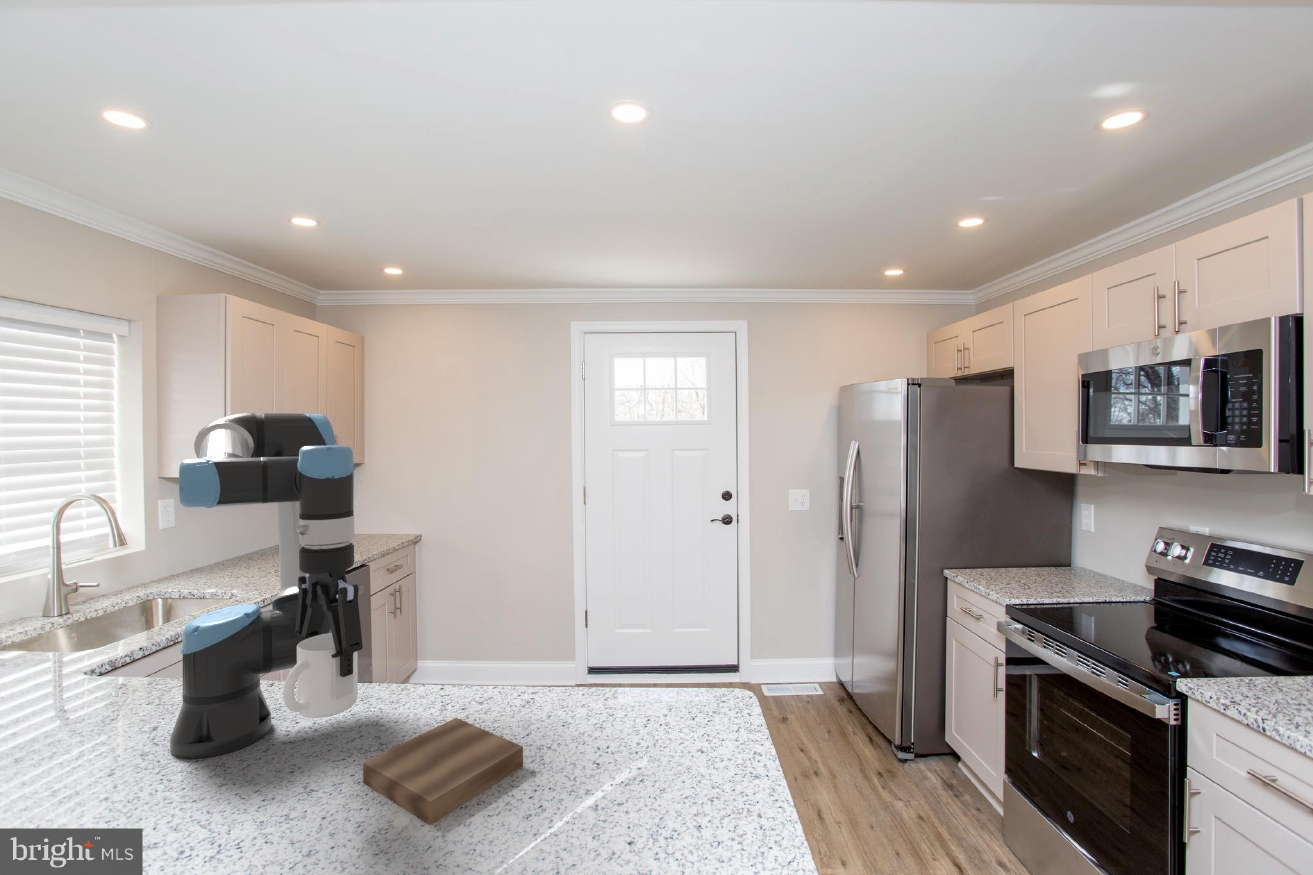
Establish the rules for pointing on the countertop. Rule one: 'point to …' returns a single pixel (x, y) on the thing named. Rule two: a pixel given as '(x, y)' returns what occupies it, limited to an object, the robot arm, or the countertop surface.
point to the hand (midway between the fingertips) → (328, 688)
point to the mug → (317, 680)
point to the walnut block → (442, 768)
